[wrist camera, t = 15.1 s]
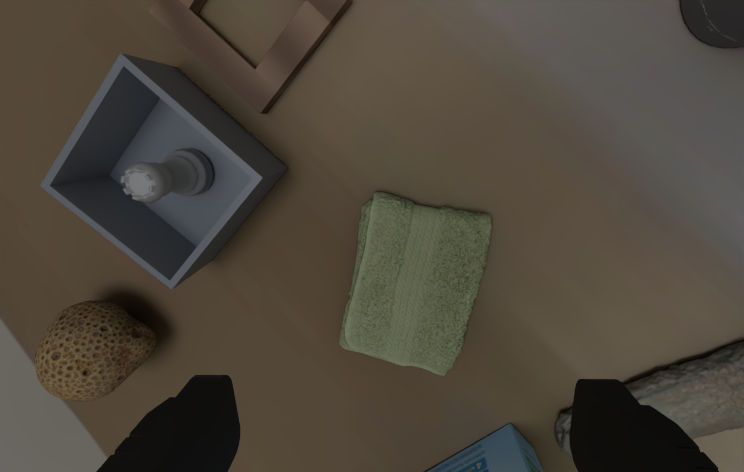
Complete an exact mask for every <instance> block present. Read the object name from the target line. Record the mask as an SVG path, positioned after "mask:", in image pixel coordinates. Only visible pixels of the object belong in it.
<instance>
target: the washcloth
mask: <svg viewBox="0 0 744 472" xmlns="http://www.w3.org/2000/svg"><path fill="white" fill-rule="evenodd" d="M361 212H362V215H361V219H360V222H359V225H360V226H359V232H358V234H359V237H358V238H357V239H358V249H357V256H356V259H355V260H356V263H355V267H354V274H353V278H352V285H351V290H350V293H349V295H350V299H349V301H348V304H347V306H345V307H346V308H345V314H344V315H343V322H342V329H341V332H340V337H339V338H340V341H339V342H340V345H341V346H342V347H343V348H345V349H348V350H351V351H356V352H361V353H364V354H367V355H369V356H374V357H377V358H380V359H383V360H386V361H388V362H392V363H395V364H398V365H401V366H416V367H420V368H423V369H426V370H429V371H431V372H433V373H435V374H438V375H443V376H444V375H446V373H447V371H448V370H450V369H452V367H453V363H455V362H456V357H457V356H458V355H459V354H460V353H461V348H462V345H463V343H464V333H465V331H466V330H467V321H468V320H469V318H470V314H472V313H471V312H472V307H473V305H474V299H475V298H476V297H477V294H478V289H479V286H480V285H479V282H480V278H481V277H482V276H483V274H484V266H486V263H487V261H486V256H487V255H488V253H487V252H488V249H489V243H490V239H491V237H490V235H491V231H492V224H491V221H492V218H491V217H490V215H488V214H485V213H483V214H480V213H478V212H477V213H475V212H470V213H469V212H467V211H465V210H464V211H463V210H454V209H452V208H450V207H447V208H446V207H445V206H443V207H442V208H434V207H428V206H424V205H417V204H414V202H412V201H409V200H407V199H404V198H402V199H400V198H399V197H397V196H393V195H391V194H389V193H384V192H374V193H373V196H372V199H371V200H369V201H368V202H367V203H366V204H365V205H363V206H362V209H361Z"/></svg>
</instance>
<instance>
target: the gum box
mask: <svg viewBox="0 0 744 472" xmlns="http://www.w3.org/2000/svg"><path fill="white" fill-rule="evenodd" d="M427 472H543V470H542V468H541V465H540V463H539V460H538V458H537V455H536V453H535V450H534V448H533V447H532V446H531V445H530V444H529V443H528V442H527V441H526V440H525V438H524V437H523V436H522V435H521V434H520V433H519V432H518V431H517V429H516V428H515V427H514V426H513V425H512V424H511V423H509V424H508V425H506V426H505V427H503V428H501V429H499V430H498V431H496V432H494V433H492V434H491V435H489V436H487V437H485V438H484V439H482V440H480V441H479V442H477V443H475V444H473V445H472V446H470V447H468V448H466V449H465V450H463V451H461V452H460V453H458V454H456V455H454V456H453V457H451V458H449V459H448V460H446V461H444V462H442V463H440V464H439V465H437V466H435V467H434V468H432V469H430V470H429V471H427Z"/></svg>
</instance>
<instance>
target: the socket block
mask: <svg viewBox="0 0 744 472" xmlns="http://www.w3.org/2000/svg"><path fill="white" fill-rule="evenodd" d="M206 1H207V0H155V1H154V3H153V4H152V6H151V8H150V9H149V11H148V12H149V13H150V14H151V15H153V16H154V17H155V18H156V19H157V20H158V21H159V22H160V23H161V24H162V25H164V26H165V27H166V28H167V29H168V30H169V31H170V32H171V33H172V34H173V35H175V36H176V37H177V38H178V39H179V40H180V41H181V42H182V43H183V44H184V45H186V46H187V47H188V48H189V49H190V50H191V51H192V52H193V53H194V54H195V55H197V56H198V57H199V58H200V59H201V60H202V61H203V62H204V63H205V64H206V65H208V66H209V67H210V68H211V69H212V70H213V71H214V72H215V73H216V74H218V75H219V76H220V77H221V78H222V79H223V80H224V81H225V82H226V83H227V84H229V85H230V86H231V87H232V88H233V89H234V90H235V91H236V92H237V93H238V94H240V95H241V96H242V97H243V98H244V99H245V100H246V101H247V102H248V103H249V104H251V105H252V106H253V107H254V108H255V109H256V110H257V111H258V112H259V113H262V114H266V113H267V112H268V111H269V109H270V108H271V107H272V106H273V104H274V103H275V102H276V100H277V99H278V98H279V96H280V95H281V94H282V93H283V91H284V90H285V89H286V87H287V86H288V85H289V84H290V82H291V81H292V80H293V78H294V77H295V76H296V74H297V73H298V72H299V71H300V69H301V68H302V67H303V65H304V64H305V63H306V61H307V60H308V59H309V58H310V56H311V55H312V54H313V52H314V51H315V50H316V48H317V47H318V46H319V45H320V43H321V42H322V41H323V39H324V38H325V37H326V35H327V34H328V33H329V32H330V30H331V29H332V28H333V26H334V25H335V24H336V22H337V21H338V20H339V19H340V17H341V16H342V15H343V13H344V12H345V11H346V10H347V8H348V7H349V6H350V4H351V3H352V0H306V1H305V2H304V3H303V5H302V6H301V8H300V9H299V10H298V12H297V13H296V14H295V16H294V17H293V18H292V20H291V21H290V23H289V24H288V25H287V27H286V28H285V29H284V31H283V32H282V34H281V35H280V36H279V38H278V39H277V40H276V42H275V43H274V44H273V46H272V47H271V49H270V50H269V51H268V53H267V54H266V55H265V57H264V58H263V59H262V61H261V62H260V64H259V65H258V66H257V68H256V67H255V66H254V65H253V64H252V63H251V62H250V61H249V60H248V59H247V58H245V57H244V56H243V55H242V54H241V53H240V52H239V51H238V50H237V49H236V48H235V47H234V46H233V45H231V44H230V43H229V42H228V41H227V40H226V39H225V38H224V37H223V36H222V35H221V34H220V33H219V32H217V31H216V30H215V29H214V28H213V27H212V26H211V25H210V24H209V23H208V22H207V21H206V20H205V19H203V18H202V17H201V16H200V15H199V14H198V13H199V11H200V10H201V8H202V7H203V5H204V4H205V2H206Z"/></svg>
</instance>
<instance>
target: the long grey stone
mask: <svg viewBox="0 0 744 472" xmlns="http://www.w3.org/2000/svg"><path fill="white" fill-rule="evenodd" d="M624 386H625V387H626V388H627V389H628V390H629V391H630V393H631V394H632V395H633V396H634V397H635V399H636V400H637V401H638V402H639V403H640V404H641V405H650V406H652V407H653V408H655V409H656V410H658V411H659V412H661V413H662V414H664V415H665V416H666V417H668V418H669V419H671V420H672V421H674V422H675V423H677V424H678V425H679V426H680V427H681V428H682V429H683V430H684V432H685V433H686V434H687V435H688V436H689V437H690V438H691V439H692V440H693V439H695V438H698V437H702V436H706V435H711V434H715V433H718V432H722V431H725V430H731V429H739V428H742V427H744V341H741V342H739V343H735V344H733V345H729V346H727V347H725V348H724V349H719V350H718V351H716V352H715V353H712V354H711V355H710V356H708V357H706V358H703V359H696V360H693V361H689V362H685V363H684V364H681V365H680V366H679V365H671V366H669V368H668V369H667V370H665V371H657V372H656V373H654V374H652V375H651V376H647V377H645V378H642V379H639V380H637V381H634V382H630V383H628V384H624ZM572 409H573V408H571V409H569V410H568V411H566V412H565V413H561V414H560V417H559V418H558V419H557V421H556V425H555V436H556V439H557V443H558V444H559V447H560V448H561V451H562V452H564V453H566V454H567V455H568V456H570V457H572V454H571V449H570V442H569V433H570V425H571V417H572ZM572 458H573V457H572Z"/></svg>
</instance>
